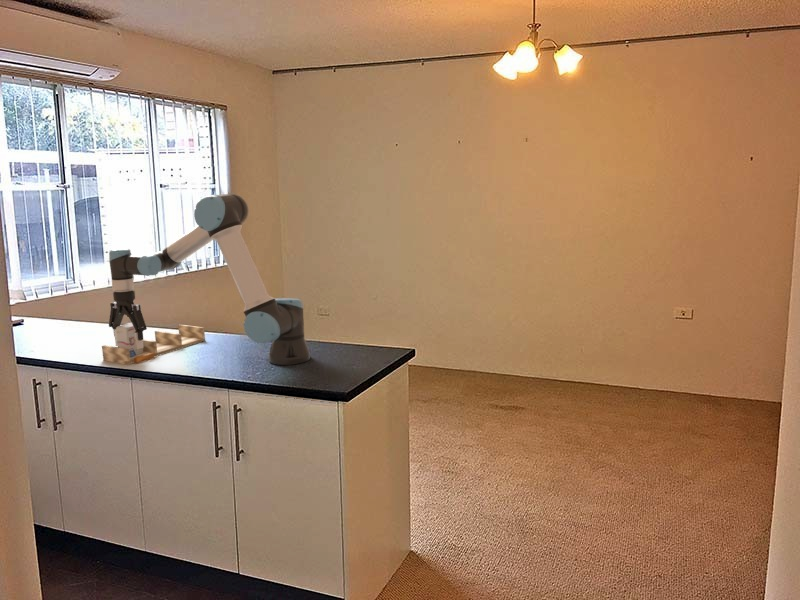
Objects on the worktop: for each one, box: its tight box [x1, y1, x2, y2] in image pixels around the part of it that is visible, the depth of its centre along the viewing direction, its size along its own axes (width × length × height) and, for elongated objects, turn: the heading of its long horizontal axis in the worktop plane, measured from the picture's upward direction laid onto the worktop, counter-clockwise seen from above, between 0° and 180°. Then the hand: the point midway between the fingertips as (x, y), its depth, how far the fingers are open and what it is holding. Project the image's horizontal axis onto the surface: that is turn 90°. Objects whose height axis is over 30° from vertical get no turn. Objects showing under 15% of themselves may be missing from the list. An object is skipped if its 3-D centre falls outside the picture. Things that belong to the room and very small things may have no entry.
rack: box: [101, 324, 206, 366], centre depth 267 cm, size 16×38×6 cm, turn 151°
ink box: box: [116, 322, 143, 357], centre depth 256 cm, size 9×5×12 cm, turn 162°
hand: (129, 346), depth 257 cm, fingers open, 11 cm apart
